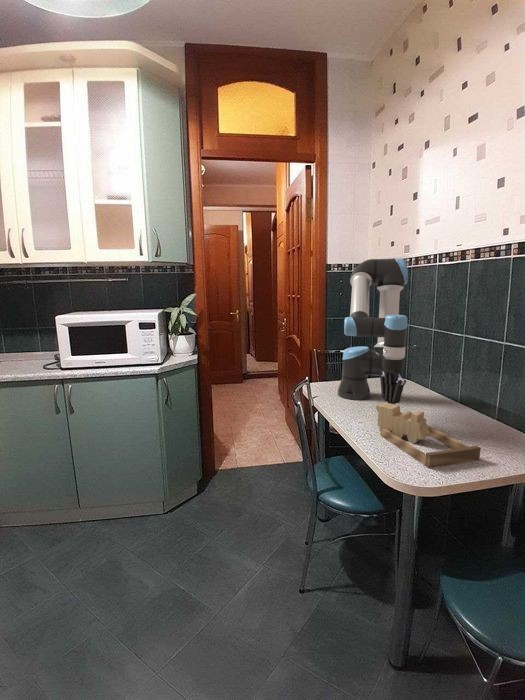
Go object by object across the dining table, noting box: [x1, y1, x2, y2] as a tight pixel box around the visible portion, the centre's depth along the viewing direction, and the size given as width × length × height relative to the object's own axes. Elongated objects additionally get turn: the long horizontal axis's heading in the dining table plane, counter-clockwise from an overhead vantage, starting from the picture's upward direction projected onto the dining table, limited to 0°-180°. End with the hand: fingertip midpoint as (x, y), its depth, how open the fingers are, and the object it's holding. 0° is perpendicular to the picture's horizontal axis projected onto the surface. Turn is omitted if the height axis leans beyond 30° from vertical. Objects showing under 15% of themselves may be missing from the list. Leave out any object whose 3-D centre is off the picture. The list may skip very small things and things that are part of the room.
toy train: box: [375, 402, 430, 444], centre depth 120 cm, size 6×17×10 cm, turn 44°
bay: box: [379, 424, 482, 469], centre depth 112 cm, size 24×18×4 cm
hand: (389, 418), depth 132 cm, fingers closed
